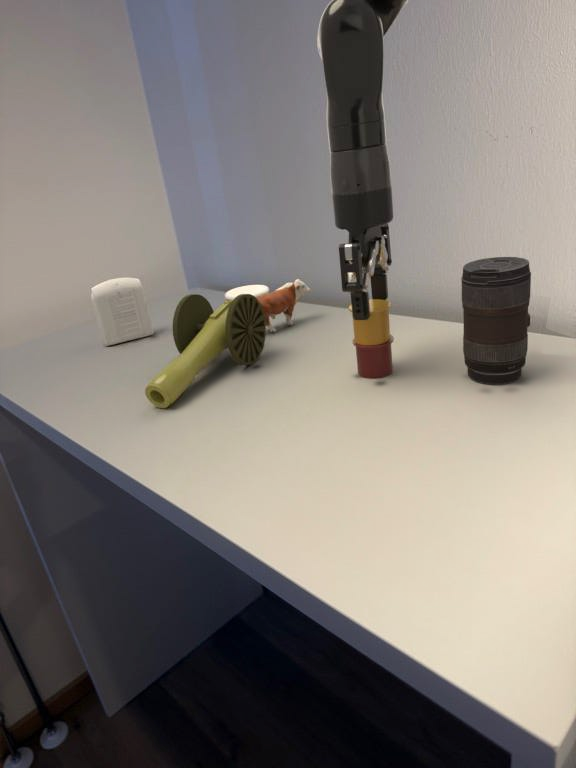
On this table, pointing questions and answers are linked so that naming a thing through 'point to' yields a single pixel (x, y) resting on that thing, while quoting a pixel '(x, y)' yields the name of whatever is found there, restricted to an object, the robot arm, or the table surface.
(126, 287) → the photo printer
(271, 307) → the bull figurine
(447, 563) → the table surface
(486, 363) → the camera lens
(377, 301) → the gold pod
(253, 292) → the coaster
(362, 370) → the burgundy pod
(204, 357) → the cannon
